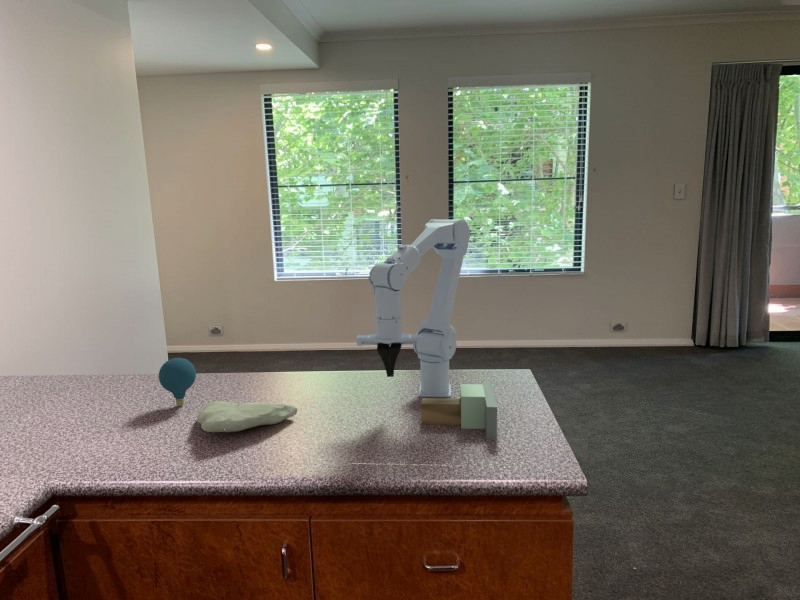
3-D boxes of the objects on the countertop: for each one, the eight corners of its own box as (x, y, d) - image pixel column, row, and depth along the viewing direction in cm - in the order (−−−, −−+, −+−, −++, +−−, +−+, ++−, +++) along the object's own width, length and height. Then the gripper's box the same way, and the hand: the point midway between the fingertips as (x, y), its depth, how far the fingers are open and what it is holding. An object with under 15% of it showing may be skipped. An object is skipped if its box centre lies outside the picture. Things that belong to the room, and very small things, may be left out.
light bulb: (173, 414, 126) (168, 365, 123) (155, 407, 131) (150, 359, 128) (205, 404, 132) (201, 356, 130) (186, 397, 137) (182, 352, 135)
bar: (422, 419, 120) (421, 398, 119) (476, 420, 119) (476, 398, 118) (421, 425, 117) (421, 403, 116) (477, 426, 116) (477, 404, 115)
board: (481, 410, 124) (481, 381, 123) (490, 410, 124) (490, 381, 123) (486, 440, 108) (487, 407, 107) (496, 440, 108) (497, 407, 107)
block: (460, 414, 121) (460, 384, 120) (482, 414, 121) (482, 384, 120) (461, 428, 114) (461, 396, 112) (485, 428, 113) (485, 396, 112)
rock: (208, 418, 129) (153, 438, 109) (209, 393, 129) (154, 408, 109) (302, 425, 124) (261, 447, 104) (302, 398, 124) (262, 415, 104)
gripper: (353, 321, 116) (356, 381, 119) (420, 320, 115) (421, 381, 117) (358, 314, 123) (360, 371, 125) (421, 313, 122) (422, 371, 124)
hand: (390, 375), depth 122 cm, fingers closed
